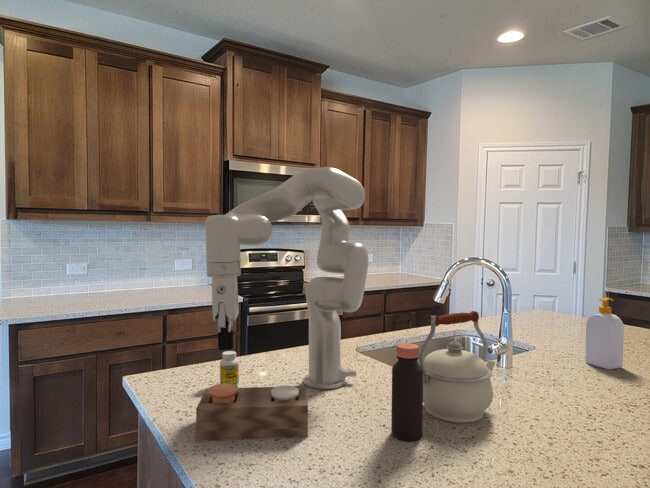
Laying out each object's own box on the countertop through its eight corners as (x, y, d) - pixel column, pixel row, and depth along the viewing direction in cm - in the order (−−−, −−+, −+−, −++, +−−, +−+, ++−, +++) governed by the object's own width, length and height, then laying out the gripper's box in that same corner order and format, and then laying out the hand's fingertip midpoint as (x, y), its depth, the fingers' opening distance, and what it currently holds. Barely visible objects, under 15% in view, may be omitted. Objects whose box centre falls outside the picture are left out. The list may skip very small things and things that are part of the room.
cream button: (298, 409, 105) (298, 385, 105) (299, 421, 99) (299, 395, 98) (271, 410, 104) (271, 385, 104) (270, 422, 98) (270, 395, 98)
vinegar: (415, 445, 93) (417, 351, 92) (386, 436, 96) (387, 346, 96) (426, 432, 98) (427, 344, 98) (398, 425, 102) (399, 340, 101)
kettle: (446, 435, 97) (448, 324, 96) (396, 406, 113) (397, 310, 112) (523, 414, 108) (525, 314, 108) (467, 390, 125) (469, 303, 124)
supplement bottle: (234, 380, 132) (234, 349, 131) (241, 386, 127) (241, 353, 127) (217, 384, 129) (217, 351, 128) (223, 389, 124) (223, 356, 124)
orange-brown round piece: (239, 407, 104) (239, 382, 103) (236, 419, 97) (236, 392, 97) (211, 408, 103) (211, 383, 103) (207, 420, 97) (206, 393, 96)
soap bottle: (624, 367, 146) (626, 299, 146) (610, 370, 144) (612, 300, 143) (598, 360, 155) (600, 296, 154) (585, 362, 152) (586, 297, 151)
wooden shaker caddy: (305, 413, 108) (305, 385, 108) (307, 436, 96) (308, 405, 96) (205, 417, 106) (205, 388, 105) (196, 441, 94) (196, 409, 93)
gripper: (237, 272, 92) (239, 358, 93) (243, 265, 107) (245, 339, 108) (200, 273, 91) (203, 360, 92) (212, 266, 106) (214, 340, 107)
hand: (225, 348), depth 100 cm, fingers closed
